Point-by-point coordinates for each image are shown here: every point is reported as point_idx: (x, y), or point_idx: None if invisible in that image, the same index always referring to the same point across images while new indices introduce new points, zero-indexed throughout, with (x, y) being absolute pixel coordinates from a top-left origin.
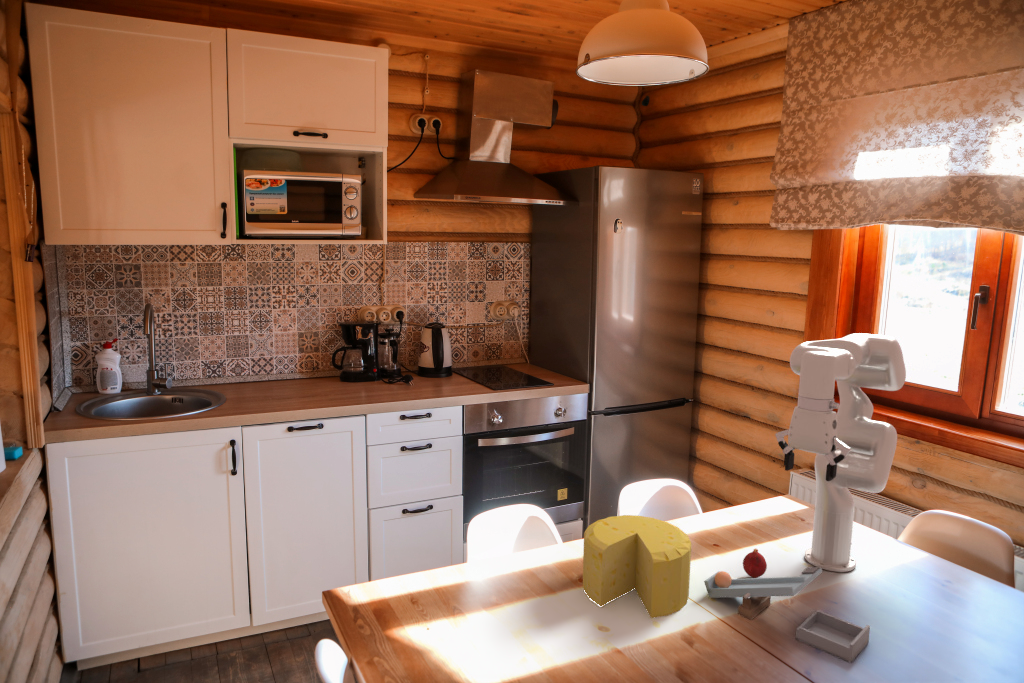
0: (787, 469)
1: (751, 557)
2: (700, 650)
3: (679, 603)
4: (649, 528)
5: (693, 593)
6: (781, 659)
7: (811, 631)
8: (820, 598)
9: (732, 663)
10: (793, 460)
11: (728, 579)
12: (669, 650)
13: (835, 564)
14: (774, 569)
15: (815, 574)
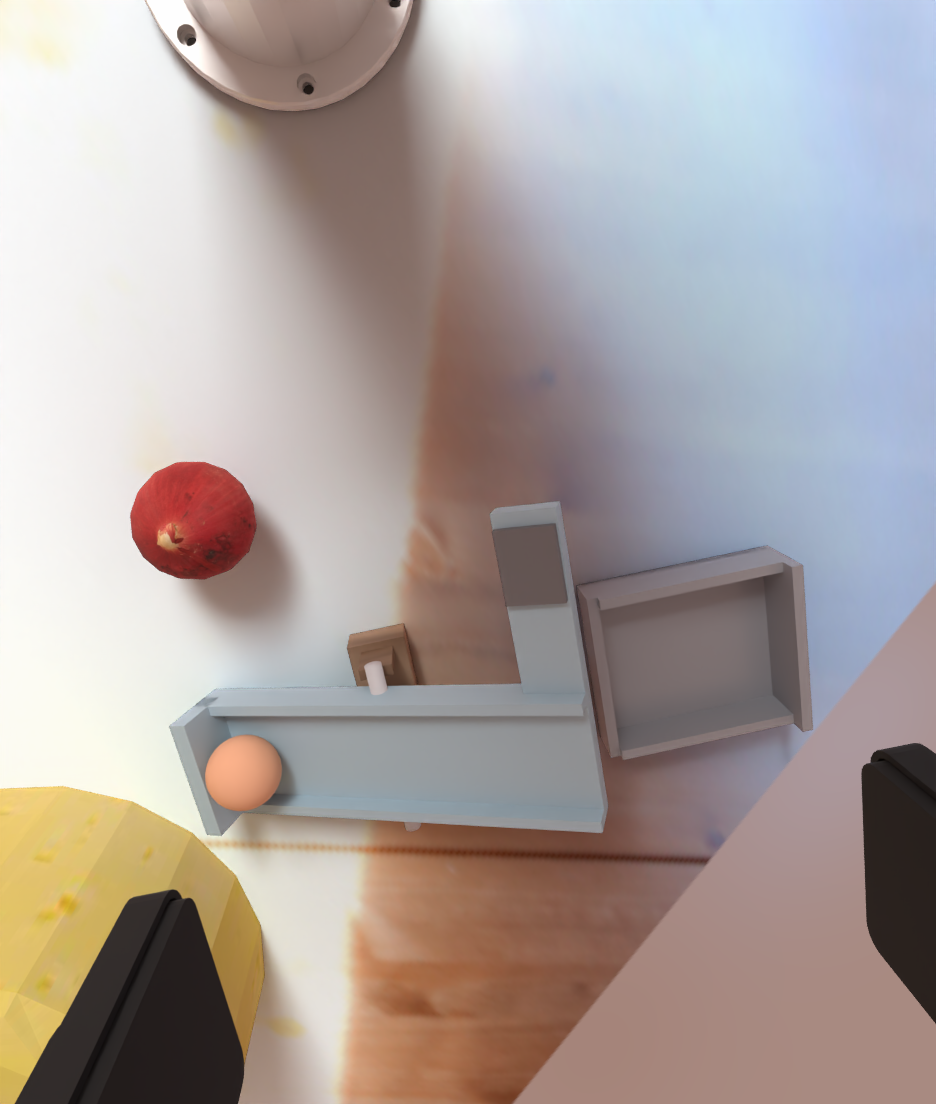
0: (234, 1086)
1: (187, 571)
2: (464, 1006)
3: (255, 948)
4: None
5: (189, 809)
6: (633, 853)
7: (662, 744)
8: (490, 402)
9: (559, 976)
10: (139, 1049)
11: (273, 784)
12: (414, 1072)
13: (356, 28)
14: (196, 338)
15: (570, 584)
